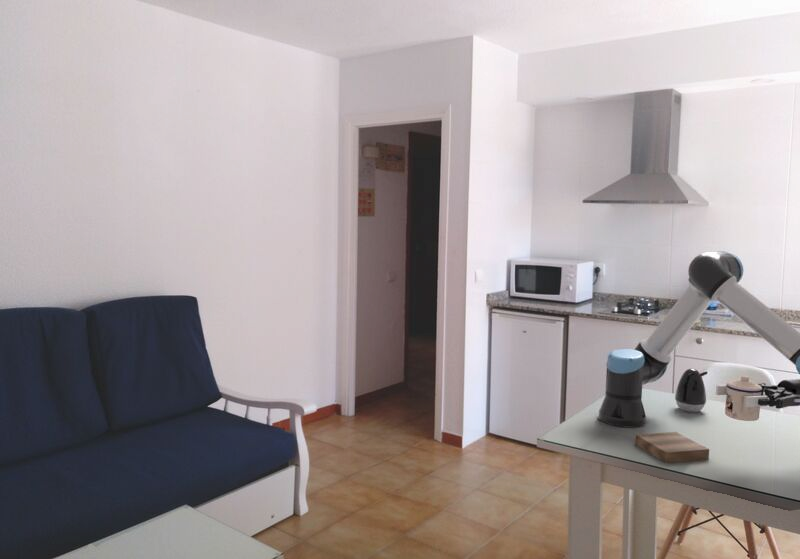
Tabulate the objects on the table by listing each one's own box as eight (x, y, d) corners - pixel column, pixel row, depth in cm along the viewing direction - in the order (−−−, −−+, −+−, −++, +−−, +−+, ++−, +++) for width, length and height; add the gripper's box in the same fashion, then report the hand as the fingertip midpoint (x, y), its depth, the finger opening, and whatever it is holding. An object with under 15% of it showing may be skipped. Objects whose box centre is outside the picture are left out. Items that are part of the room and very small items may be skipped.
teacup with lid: (722, 409, 193) (725, 370, 191) (757, 414, 189) (761, 374, 188) (726, 421, 182) (729, 380, 180) (763, 426, 178) (767, 384, 177)
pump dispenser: (711, 415, 231) (714, 372, 229) (681, 414, 231) (684, 371, 229) (698, 406, 241) (701, 365, 239) (669, 405, 241) (672, 365, 240)
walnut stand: (634, 444, 200) (635, 434, 200) (675, 441, 203) (675, 431, 203) (665, 462, 186) (666, 452, 185) (708, 459, 189) (709, 449, 189)
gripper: (830, 418, 178) (761, 422, 173) (764, 393, 201) (702, 397, 196) (833, 391, 178) (764, 394, 172) (767, 369, 200) (704, 372, 195)
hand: (731, 395), depth 184 cm, fingers closed on teacup with lid, 11 cm apart
